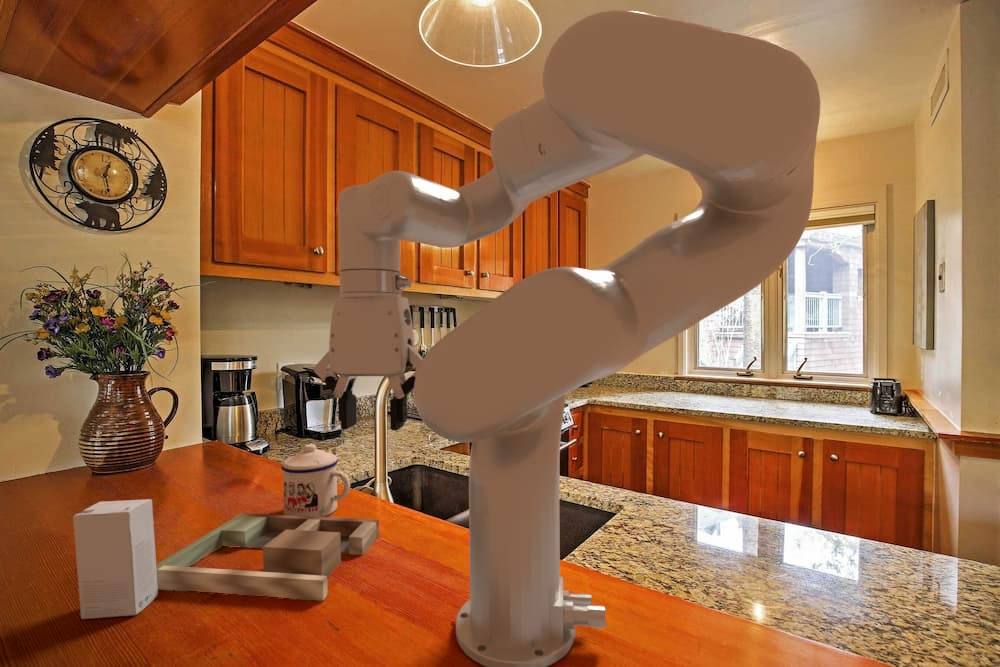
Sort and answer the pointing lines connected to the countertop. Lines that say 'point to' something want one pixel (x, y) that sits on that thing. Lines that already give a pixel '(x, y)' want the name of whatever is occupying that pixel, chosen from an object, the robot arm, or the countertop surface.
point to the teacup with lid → (312, 483)
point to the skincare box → (115, 558)
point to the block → (303, 553)
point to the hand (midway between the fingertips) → (373, 426)
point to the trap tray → (256, 535)
